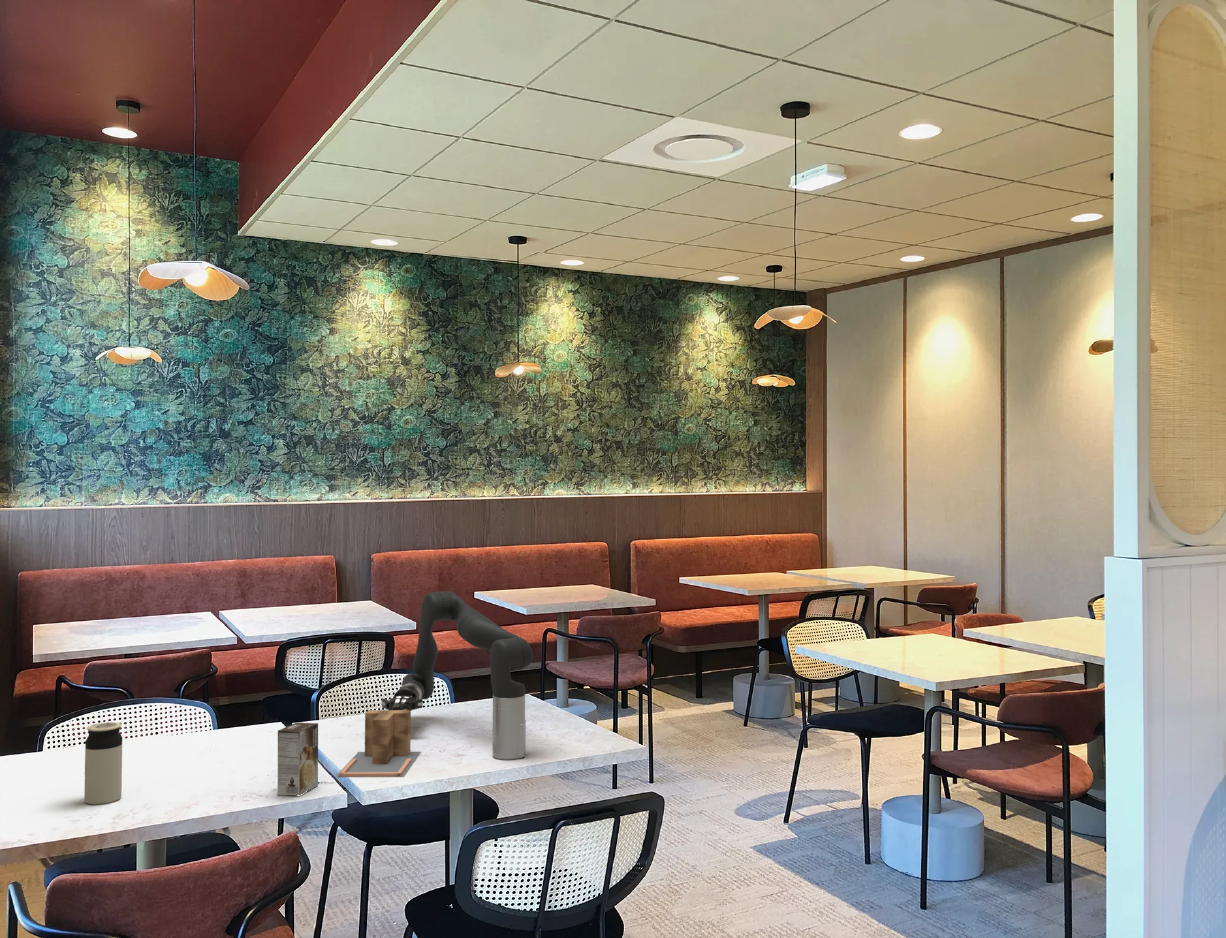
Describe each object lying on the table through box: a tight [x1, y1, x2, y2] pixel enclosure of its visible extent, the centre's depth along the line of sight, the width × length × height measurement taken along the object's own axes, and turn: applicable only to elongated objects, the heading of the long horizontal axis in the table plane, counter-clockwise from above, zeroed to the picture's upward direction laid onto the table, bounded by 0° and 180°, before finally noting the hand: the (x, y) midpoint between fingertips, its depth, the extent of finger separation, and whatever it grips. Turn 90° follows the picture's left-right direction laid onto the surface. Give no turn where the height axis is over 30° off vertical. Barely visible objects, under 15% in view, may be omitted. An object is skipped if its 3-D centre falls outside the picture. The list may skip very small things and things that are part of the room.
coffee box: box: [276, 722, 319, 796], centre depth 242 cm, size 9×6×16 cm
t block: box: [364, 709, 412, 764], centre depth 268 cm, size 12×12×12 cm
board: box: [334, 751, 422, 778], centre depth 262 cm, size 18×25×2 cm
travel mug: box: [83, 721, 123, 806], centre depth 234 cm, size 8×8×18 cm
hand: (396, 710), depth 284 cm, fingers closed
